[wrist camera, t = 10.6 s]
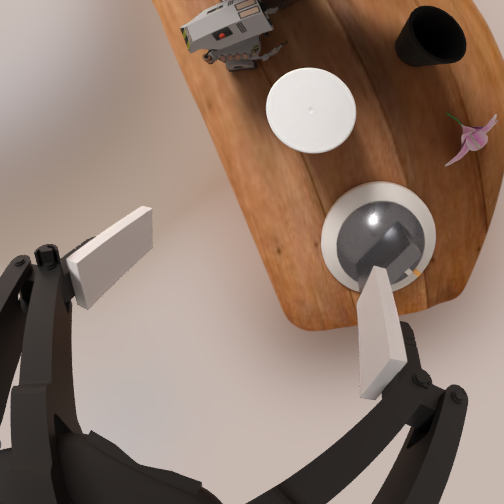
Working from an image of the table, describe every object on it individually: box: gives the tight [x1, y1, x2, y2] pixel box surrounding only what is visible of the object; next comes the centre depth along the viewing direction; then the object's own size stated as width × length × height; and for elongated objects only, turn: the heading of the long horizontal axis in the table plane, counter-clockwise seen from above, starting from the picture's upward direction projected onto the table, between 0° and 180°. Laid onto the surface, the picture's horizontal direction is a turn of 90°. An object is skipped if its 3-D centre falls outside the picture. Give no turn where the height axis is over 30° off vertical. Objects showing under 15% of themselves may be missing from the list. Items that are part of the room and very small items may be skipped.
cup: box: [395, 6, 466, 67], centre depth 23 cm, size 8×8×12 cm
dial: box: [336, 201, 425, 294], centre depth 39 cm, size 15×15×9 cm
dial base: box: [321, 181, 436, 292], centre depth 44 cm, size 20×20×2 cm
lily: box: [445, 113, 498, 166], centre depth 29 cm, size 12×12×10 cm
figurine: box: [180, 0, 288, 72], centre depth 28 cm, size 9×12×15 cm
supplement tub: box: [266, 68, 356, 153], centre depth 31 cm, size 10×10×15 cm
